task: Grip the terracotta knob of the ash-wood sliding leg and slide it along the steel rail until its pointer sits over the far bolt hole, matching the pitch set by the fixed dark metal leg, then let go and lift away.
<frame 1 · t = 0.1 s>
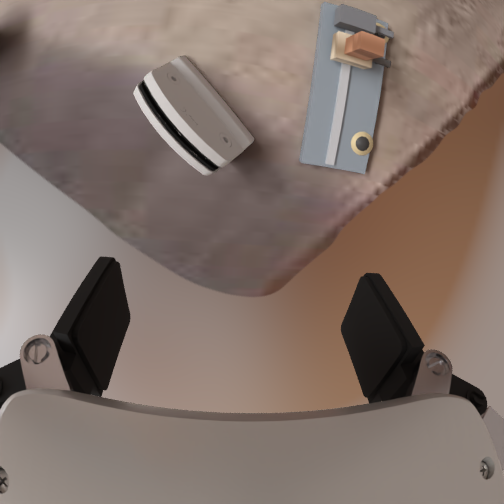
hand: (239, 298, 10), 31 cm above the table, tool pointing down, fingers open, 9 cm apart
sliding leg: (371, 52, 25), point 6 cm above the table, slide at 0.0 cm
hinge: (197, 112, 34), on the table
gauge board: (345, 86, 32), on the table
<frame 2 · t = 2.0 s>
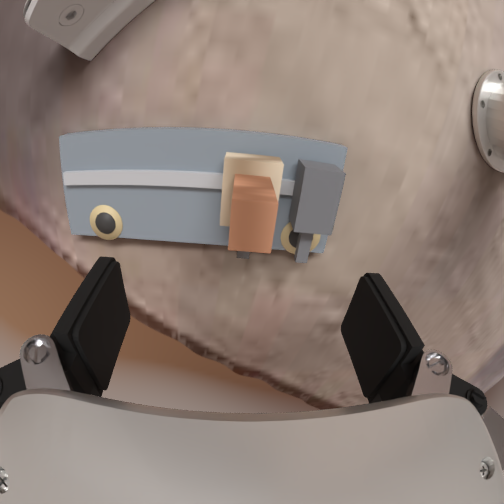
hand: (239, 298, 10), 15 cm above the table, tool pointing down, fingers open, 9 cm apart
sliding leg: (248, 224, 19), point 6 cm above the table, slide at 0.0 cm
gauge board: (190, 184, 23), on the table
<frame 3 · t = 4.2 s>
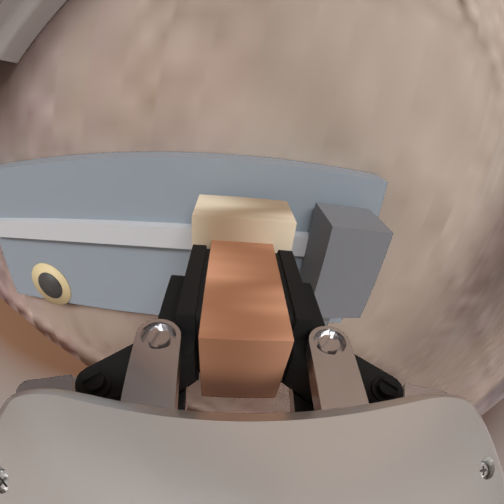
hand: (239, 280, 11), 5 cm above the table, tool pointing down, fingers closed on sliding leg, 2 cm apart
sliding leg: (236, 320, 12), point 6 cm above the table, slide at 0.0 cm, touching gripper
gauge board: (153, 235, 16), on the table
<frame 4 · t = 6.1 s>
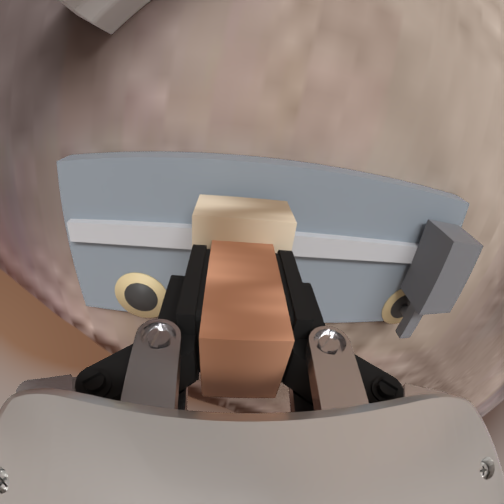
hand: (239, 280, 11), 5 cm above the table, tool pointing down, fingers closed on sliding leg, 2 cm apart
sliding leg: (236, 320, 12), point 6 cm above the table, slide at 7.3 cm, touching gripper
gauge board: (275, 243, 16), on the table
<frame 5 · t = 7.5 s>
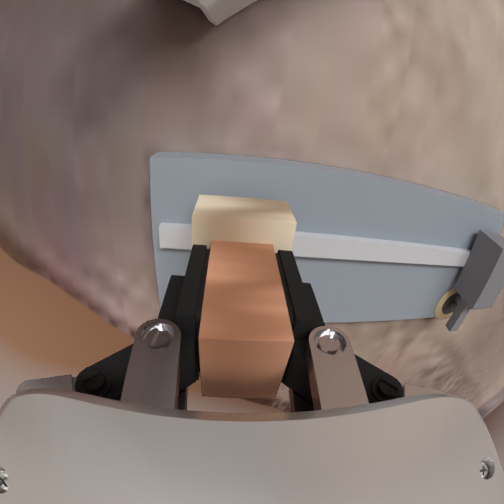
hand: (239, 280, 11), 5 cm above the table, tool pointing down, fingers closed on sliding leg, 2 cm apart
sliding leg: (236, 320, 12), point 6 cm above the table, slide at 12.9 cm, touching gripper
gauge board: (360, 249, 17), on the table
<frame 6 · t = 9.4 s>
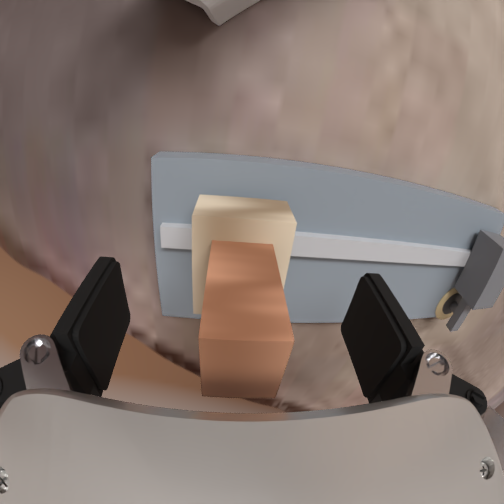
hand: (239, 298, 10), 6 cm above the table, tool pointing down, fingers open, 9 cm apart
sliding leg: (236, 320, 12), point 6 cm above the table, slide at 13.0 cm
gauge board: (362, 249, 17), on the table
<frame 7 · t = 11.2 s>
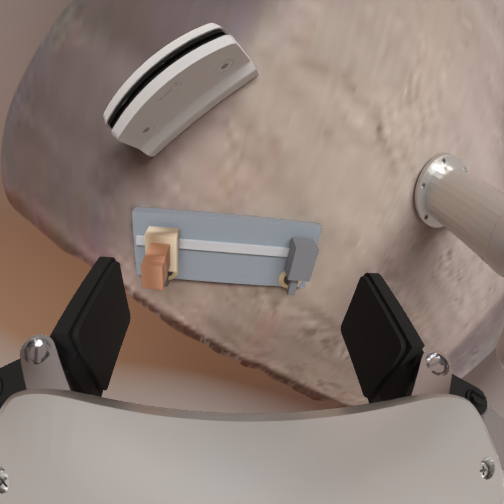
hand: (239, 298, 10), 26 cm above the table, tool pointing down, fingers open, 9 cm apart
sliding leg: (159, 270, 33), point 6 cm above the table, slide at 13.0 cm
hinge: (183, 91, 28), on the table
gauge board: (224, 247, 39), on the table
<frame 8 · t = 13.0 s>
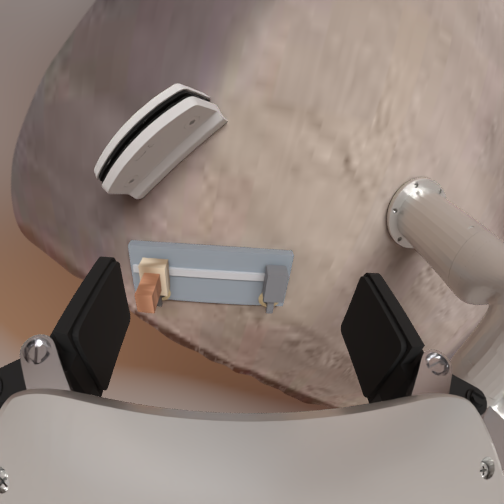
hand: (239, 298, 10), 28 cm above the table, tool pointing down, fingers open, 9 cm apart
sliding leg: (152, 295, 39), point 6 cm above the table, slide at 13.0 cm
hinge: (163, 139, 33), on the table
gauge board: (209, 272, 44), on the table
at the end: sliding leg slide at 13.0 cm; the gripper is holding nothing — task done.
